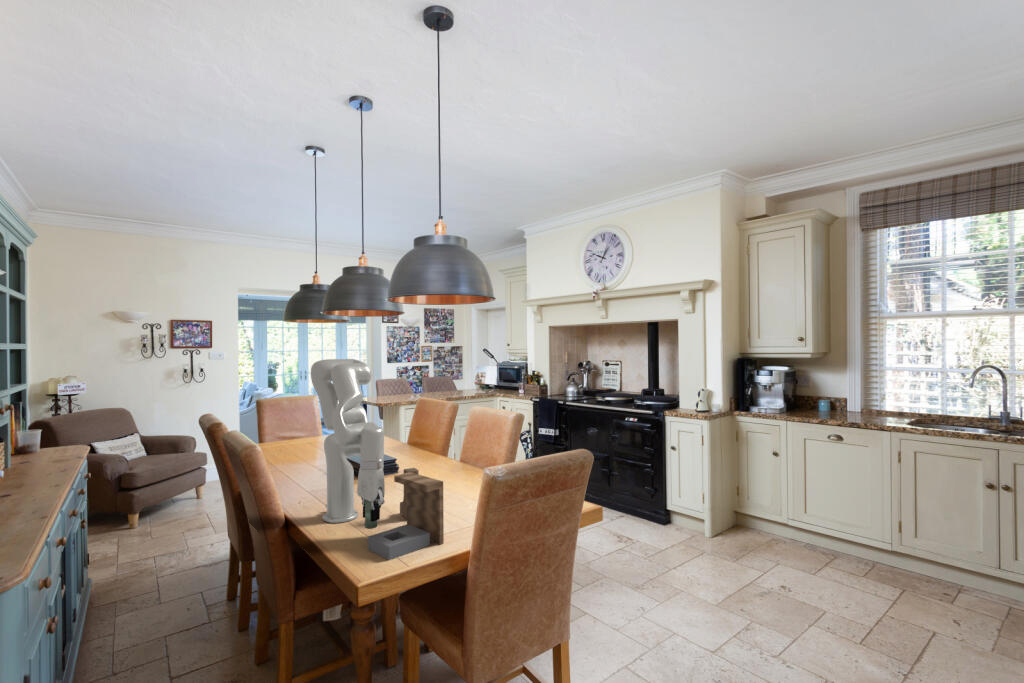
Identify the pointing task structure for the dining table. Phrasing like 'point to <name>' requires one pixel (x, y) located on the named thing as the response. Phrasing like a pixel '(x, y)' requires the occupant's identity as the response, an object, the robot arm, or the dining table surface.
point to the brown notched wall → (424, 504)
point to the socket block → (398, 541)
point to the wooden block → (404, 504)
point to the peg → (367, 516)
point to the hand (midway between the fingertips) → (371, 518)
